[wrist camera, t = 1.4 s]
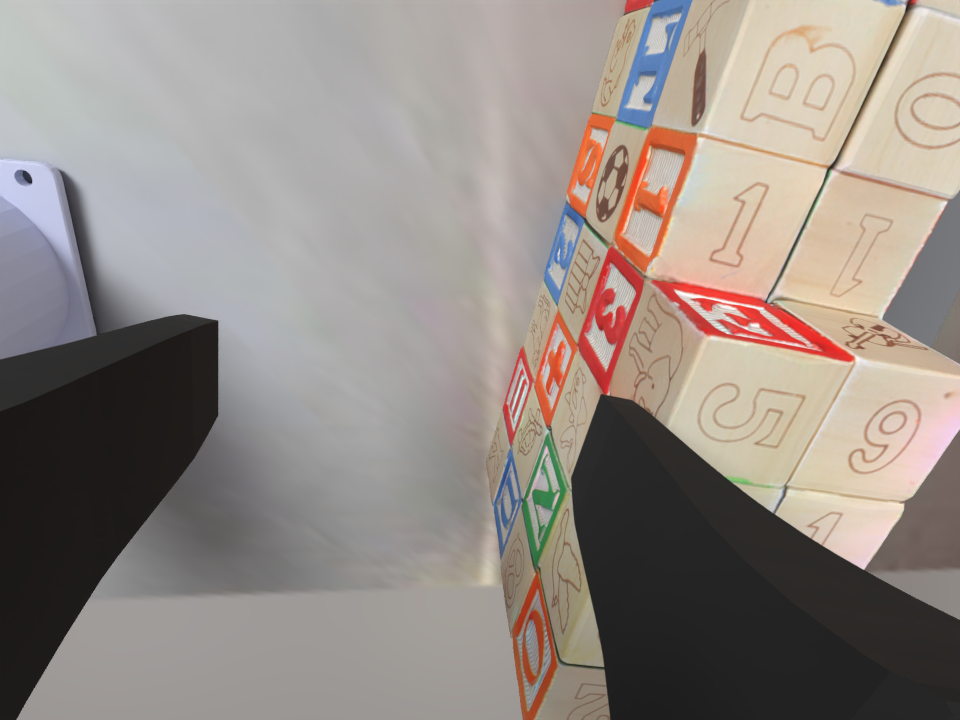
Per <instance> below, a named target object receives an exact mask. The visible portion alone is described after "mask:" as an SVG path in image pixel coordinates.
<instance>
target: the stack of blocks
mask: <svg viewBox="0 0 960 720" xmlns="http://www.w3.org/2000/svg"><path fill="white" fill-rule="evenodd" d="M959 190H960V0H627V2H626V5H625V14H624V16H623V17H621V18H620V19H619V21H618V24H617V27H616V30H615V34H614V37H613V40H612V44H611V47H610V50H609V54H608V57H607V61H606V64H605V67H604V71H603V74H602V78H601V81H600V84H599V88H598V91H597V95H596V98H595V101H594V105H593V111H592V114H591V116H590V118H589V121H588V124H587V127H586V130H585V134H584V137H583V140H582V144H581V147H580V150H579V154H578V157H577V160H576V163H575V167H574V170H573V173H572V177H571V180H570V184H569V187H568V190H567V193H566V205H565V208H564V211H563V214H562V217H561V221H560V224H559V228H558V231H557V234H556V237H555V241H554V244H553V247H552V251H551V254H550V257H549V260H548V264H547V267H546V270H545V276H544V281H543V283H542V286H541V289H540V292H539V296H538V299H537V302H536V306H535V309H534V312H533V316H532V319H531V322H530V326H529V329H528V333H527V336H526V340H525V344H524V346H523V347H522V348H521V350H520V354H519V357H518V360H517V363H516V366H515V370H514V373H513V377H512V380H511V383H510V386H509V389H508V393H507V396H506V400H505V403H504V406H503V410H502V412H501V414H500V417H499V421H498V424H497V427H496V430H495V434H494V437H493V440H492V444H491V447H490V450H489V453H488V457H487V460H486V466H487V473H488V477H489V484H490V493H491V501H492V505H493V506H494V513H495V521H496V527H497V533H498V539H499V549H500V558H501V573H502V579H503V589H504V597H505V605H506V612H507V617H508V623H509V630H510V635H511V638H513V649H514V658H515V666H516V673H517V680H518V686H519V694H520V703H521V710H522V716H523V720H610V712H609V704H608V695H607V687H606V678H605V670H604V661H603V654H602V649H601V643H600V638H599V632H598V627H597V623H596V619H595V614H594V610H593V605H592V601H591V597H590V592H589V588H588V583H587V579H586V575H585V570H584V566H583V561H582V557H581V552H580V548H579V543H578V538H577V534H576V529H575V524H574V514H573V503H572V487H571V476H572V473H573V471H574V468H575V465H576V462H577V459H578V457H579V454H580V451H581V448H582V445H583V443H584V440H585V437H586V434H587V431H588V429H589V426H590V423H591V420H592V417H593V415H594V412H595V409H596V406H597V403H598V401H599V398H600V395H601V394H604V395H609V396H614V397H620V398H625V399H630V400H633V401H634V402H636V403H637V404H639V405H640V406H641V407H643V408H644V409H645V410H646V411H648V412H649V413H650V414H651V415H653V416H654V417H655V418H656V419H657V420H659V421H660V422H661V423H662V424H663V425H664V426H665V427H667V428H668V429H669V430H670V431H671V432H672V433H674V434H675V435H676V436H677V437H678V438H679V439H680V440H682V441H683V442H684V443H685V444H686V445H687V446H688V447H690V448H691V449H692V450H693V451H694V452H695V453H697V454H698V455H699V456H700V457H701V458H703V459H704V460H705V461H706V462H707V463H709V464H710V465H711V466H712V467H713V468H715V469H716V470H717V471H718V472H719V473H721V474H722V475H723V476H724V477H726V478H727V479H728V480H730V481H731V482H732V483H733V484H735V485H736V486H737V487H739V488H740V489H741V490H742V491H744V492H745V493H746V494H748V495H749V496H750V497H751V498H753V499H754V500H756V501H757V502H758V503H760V504H761V505H762V506H764V507H765V508H767V509H768V510H769V511H771V512H772V513H774V514H775V515H777V516H778V517H780V518H781V519H783V520H784V521H786V522H787V523H789V524H790V525H792V526H793V527H795V528H796V529H798V530H799V531H801V532H802V533H803V534H805V535H806V536H808V537H810V538H811V539H813V540H814V541H816V542H818V543H819V544H821V545H822V546H824V547H826V548H827V549H829V550H830V551H832V552H834V553H835V554H837V555H839V556H841V557H842V558H844V559H846V560H848V561H849V562H851V563H853V564H854V565H856V566H858V567H860V568H861V569H863V570H864V569H865V568H866V566H867V565H868V563H869V562H870V561H871V559H872V558H873V557H874V556H875V554H876V552H877V551H878V549H879V548H880V546H881V544H882V543H883V541H884V540H885V538H886V537H887V535H888V534H889V533H890V531H891V530H892V528H893V527H894V526H895V524H896V523H897V522H898V520H899V519H900V518H901V516H902V513H903V511H904V501H905V500H907V499H909V498H911V497H913V495H914V494H915V493H916V491H917V490H918V488H919V487H920V485H921V484H922V483H923V481H924V480H925V478H926V477H927V475H928V474H929V473H930V471H931V470H932V468H933V467H934V465H935V464H936V463H937V461H938V460H939V458H940V457H941V455H942V454H943V452H944V451H945V450H946V448H947V447H948V445H949V444H950V442H951V441H952V439H953V438H954V436H955V435H956V434H957V432H958V431H959V429H960V364H958V363H957V362H955V361H953V360H951V359H950V358H948V357H946V356H944V355H942V354H941V353H939V352H937V351H935V350H934V349H932V348H930V347H928V346H926V345H925V344H923V343H921V342H919V341H918V340H916V339H914V338H912V337H911V336H909V335H907V334H905V333H904V332H902V331H900V330H899V329H897V328H895V327H893V326H892V325H890V324H888V323H887V322H885V321H883V320H882V318H883V316H884V314H885V312H886V311H887V309H888V308H889V306H890V304H891V303H892V301H893V299H894V297H895V295H896V294H897V292H898V290H899V289H900V287H901V285H902V283H903V282H904V280H905V278H906V276H907V275H908V273H909V271H910V269H911V267H912V266H913V264H914V262H915V260H916V259H917V257H918V255H919V254H920V252H921V250H922V248H923V247H924V245H925V243H926V241H927V240H928V238H929V236H930V234H931V233H932V231H933V229H934V228H935V226H936V224H937V222H938V221H939V219H940V217H941V215H942V214H943V212H944V210H945V208H946V206H947V204H948V201H950V200H951V199H953V198H954V197H955V196H956V195H957V193H958V192H959Z"/></svg>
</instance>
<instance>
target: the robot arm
mask: <svg viewBox="0 0 960 720" xmlns="http://www.w3.org/2000/svg"><path fill="white" fill-rule="evenodd" d="M23 170H25V171H27V172H28V173H29V174H30V175H31V177H32V184H30V183H28V182H27V181H26V180H25V179H24V178H23V176H22V172H23ZM217 417H218V321H217V320H212V319H206V318H201V317H196V316H191V315H185V314H182V315H174V316H169V317H164V318H160V319H155V320H151V321H147V322H144V323H140V324H136V325H132V326H129V327H125V328H121V329H118V330H114V331H110V332H107V333H103V334H99V335H97V333H96V329H95V324H94V320H93V315H92V310H91V306H90V301H89V297H88V292H87V288H86V283H85V279H84V274H83V270H82V265H81V260H80V256H79V251H78V247H77V242H76V238H75V233H74V229H73V224H72V220H71V215H70V210H69V206H68V201H67V197H66V192H65V188H64V183H63V179H62V176H61V174H60V172H59V171H58V170H57V169H56V168H55V167H54V166H52V165H50V164H48V163H45V162H37V161H25V160H14V159H2V158H0V720H16V719H17V717H18V716H19V714H20V712H21V710H22V708H23V707H24V705H25V703H26V701H27V700H28V698H29V696H30V695H31V693H32V691H33V689H34V688H35V686H36V684H37V683H38V681H39V679H40V678H41V676H42V674H43V672H44V671H45V669H46V667H47V666H48V664H49V662H50V661H51V659H52V657H53V656H54V654H55V652H56V651H57V649H58V647H59V646H60V644H61V642H62V641H63V639H64V637H65V636H66V634H67V632H68V631H69V629H70V628H71V626H72V624H73V623H74V621H75V620H76V618H77V617H78V615H79V613H80V612H81V610H82V609H83V607H84V605H85V604H86V602H87V601H88V599H89V598H90V596H91V594H92V593H93V591H94V590H95V588H96V586H97V585H98V583H99V582H100V580H101V579H102V577H103V576H104V575H105V573H106V572H107V570H108V569H109V568H110V566H111V565H112V564H113V562H114V561H115V559H116V558H117V557H118V555H119V554H120V553H121V551H122V550H123V549H124V548H125V546H126V545H127V544H128V543H129V541H130V540H131V539H132V538H133V536H134V535H135V534H136V532H137V531H138V530H139V529H140V527H141V526H142V525H143V524H144V522H145V521H146V520H147V518H148V517H149V516H150V515H151V513H152V512H153V511H154V510H155V508H156V507H157V506H158V504H159V503H160V502H161V501H162V499H163V498H164V497H165V496H166V494H167V493H168V492H169V490H170V489H171V488H172V487H173V485H174V484H175V483H176V481H177V480H178V479H179V477H180V476H181V475H182V474H183V472H184V471H185V470H186V468H187V467H188V466H189V464H190V463H191V462H192V460H193V459H194V457H195V456H196V454H197V452H198V451H199V449H200V447H201V446H202V444H203V442H204V440H205V439H206V437H207V435H208V433H209V431H210V429H211V428H212V426H213V424H214V422H215V420H216V418H217ZM571 487H572V503H573V514H574V524H575V529H576V534H577V538H578V543H579V548H580V552H581V557H582V561H583V566H584V570H585V575H586V579H587V583H588V588H589V592H590V597H591V601H592V605H593V610H594V614H595V619H596V623H597V627H598V632H599V638H600V643H601V649H602V654H603V661H604V670H605V678H606V687H607V695H608V704H609V712H610V720H960V620H958V619H957V618H955V617H953V616H950V615H948V614H946V613H944V612H942V611H940V610H938V609H936V608H934V607H932V606H930V605H928V604H926V603H924V602H922V601H920V600H918V599H916V598H914V597H912V596H911V595H909V594H907V593H905V592H903V591H901V590H899V589H897V588H895V587H894V586H892V585H890V584H888V583H886V582H884V581H882V580H881V579H879V578H877V577H875V576H874V575H872V574H870V573H868V572H867V571H865V570H863V569H861V568H860V567H858V566H856V565H854V564H853V563H851V562H849V561H848V560H846V559H844V558H842V557H841V556H839V555H837V554H835V553H834V552H832V551H830V550H829V549H827V548H826V547H824V546H822V545H821V544H819V543H818V542H816V541H814V540H813V539H811V538H810V537H808V536H806V535H805V534H803V533H802V532H801V531H799V530H798V529H796V528H795V527H793V526H792V525H790V524H789V523H787V522H786V521H784V520H783V519H781V518H780V517H778V516H777V515H775V514H774V513H772V512H771V511H769V510H768V509H767V508H765V507H764V506H762V505H761V504H760V503H758V502H757V501H756V500H754V499H753V498H751V497H750V496H749V495H748V494H746V493H745V492H744V491H742V490H741V489H740V488H739V487H737V486H736V485H735V484H733V483H732V482H731V481H730V480H728V479H727V478H726V477H724V476H723V475H722V474H721V473H719V472H718V471H717V470H716V469H715V468H713V467H712V466H711V465H710V464H709V463H707V462H706V461H705V460H704V459H703V458H701V457H700V456H699V455H698V454H697V453H695V452H694V451H693V450H692V449H691V448H690V447H688V446H687V445H686V444H685V443H684V442H683V441H682V440H680V439H679V438H678V437H677V436H676V435H675V434H674V433H672V432H671V431H670V430H669V429H668V428H667V427H665V426H664V425H663V424H662V423H661V422H660V421H659V420H657V419H656V418H655V417H654V416H653V415H651V414H650V413H649V412H648V411H646V410H645V409H644V408H643V407H641V406H640V405H639V404H637V403H636V402H634V401H633V400H630V399H625V398H620V397H614V396H609V395H604V394H601V395H600V398H599V401H598V403H597V406H596V409H595V412H594V415H593V417H592V420H591V423H590V426H589V429H588V431H587V434H586V437H585V440H584V443H583V445H582V448H581V451H580V454H579V457H578V459H577V462H576V465H575V468H574V471H573V473H572V476H571Z"/></svg>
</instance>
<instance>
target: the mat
mask: <svg viewBox="0 0 960 720" xmlns="http://www.w3.org/2000/svg"><path fill="white" fill-rule="evenodd" d="M959 290H960V190H959V192H958V193H957V195H956V196H955V197H954V198H953V199H951V200H950V201H948V204H947V206H946V208H945V210H944V212H943V214H942V215H941V217H940V219H939V221H938V222H937V224H936V226H935V228H934V229H933V231H932V233H931V234H930V236H929V238H928V240H927V241H926V243H925V245H924V247H923V248H922V250H921V252H920V254H919V255H918V257H917V259H916V260H915V262H914V264H913V266H912V267H911V269H910V271H909V273H908V275H907V276H906V278H905V280H904V282H903V283H902V285H901V287H900V289H899V290H898V292H897V294H896V295H895V297H894V299H893V301H892V303H891V304H890V306H889V308H888V309H887V311H886V312H885V314H884V316H883V318H882V320H883V321H885V322H887V323H888V324H890V325H892V326H893V327H895V328H897V329H899V330H900V331H902V332H904V333H905V334H907V335H909V336H911V337H912V338H914V339H916V340H918V341H919V342H921V343H923V344H925V345H926V346H928V347H930V348H931V346H932V344H933V342H934V340H935V338H936V336H937V334H938V332H939V330H940V328H941V326H942V324H943V322H944V320H945V318H946V316H947V314H948V312H949V310H950V308H951V306H952V304H953V302H954V300H955V298H956V296H957V294H958V292H959Z"/></svg>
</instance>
